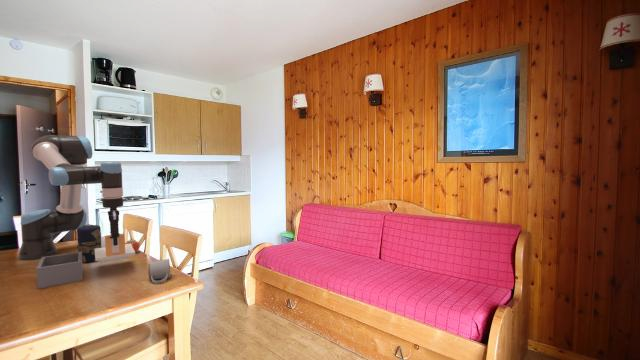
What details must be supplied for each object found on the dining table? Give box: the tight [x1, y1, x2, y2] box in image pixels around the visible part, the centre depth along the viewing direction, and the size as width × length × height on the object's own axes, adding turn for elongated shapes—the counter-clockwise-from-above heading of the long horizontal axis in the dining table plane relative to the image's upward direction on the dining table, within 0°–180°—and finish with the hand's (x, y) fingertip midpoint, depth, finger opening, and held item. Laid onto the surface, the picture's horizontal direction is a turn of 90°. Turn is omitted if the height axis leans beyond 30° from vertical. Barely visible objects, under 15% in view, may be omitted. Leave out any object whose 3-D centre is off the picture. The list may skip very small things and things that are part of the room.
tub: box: [35, 251, 84, 289], centre depth 137 cm, size 18×14×8 cm
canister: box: [76, 223, 103, 263], centre depth 160 cm, size 10×10×18 cm
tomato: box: [125, 237, 140, 254], centre depth 172 cm, size 7×7×8 cm
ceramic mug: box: [147, 258, 171, 285], centre depth 134 cm, size 11×8×8 cm
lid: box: [94, 233, 136, 264], centre depth 147 cm, size 19×15×11 cm
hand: (115, 251), depth 141 cm, fingers closed on lid, 2 cm apart
